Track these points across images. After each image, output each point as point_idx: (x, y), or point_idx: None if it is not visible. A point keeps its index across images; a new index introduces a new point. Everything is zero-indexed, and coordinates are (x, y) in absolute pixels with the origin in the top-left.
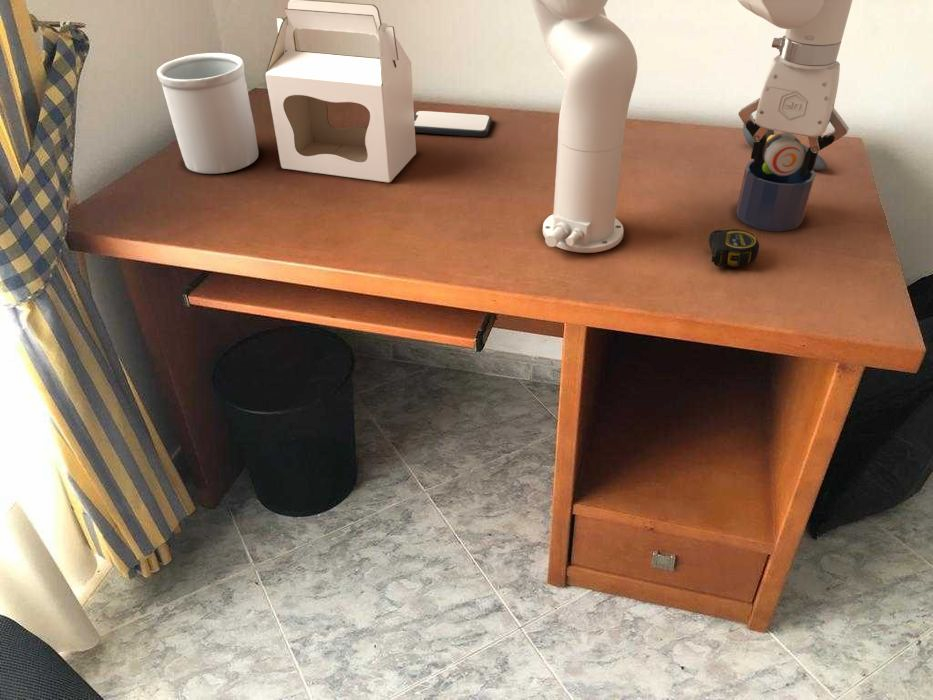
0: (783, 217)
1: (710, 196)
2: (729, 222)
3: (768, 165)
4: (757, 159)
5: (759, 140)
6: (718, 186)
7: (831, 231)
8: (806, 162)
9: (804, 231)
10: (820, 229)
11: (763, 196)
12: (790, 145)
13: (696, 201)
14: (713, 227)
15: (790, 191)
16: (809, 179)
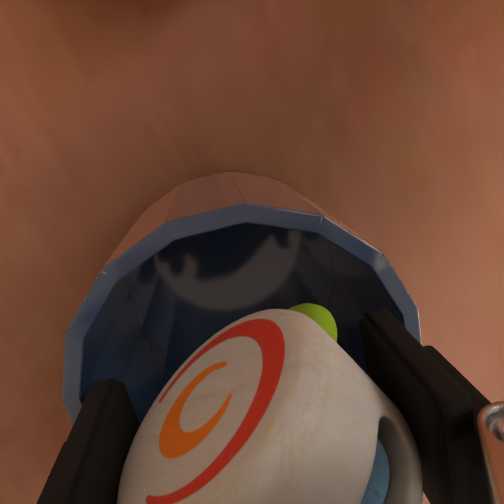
0: (139, 218)
1: (445, 274)
2: (316, 148)
3: (295, 311)
4: (385, 332)
5: (480, 424)
6: (449, 350)
7: (27, 328)
8: (77, 443)
9: (90, 268)
10: (60, 316)
11: (230, 189)
12: (209, 491)
13: (470, 211)
14: (345, 70)
15: (113, 254)
16: (77, 392)
